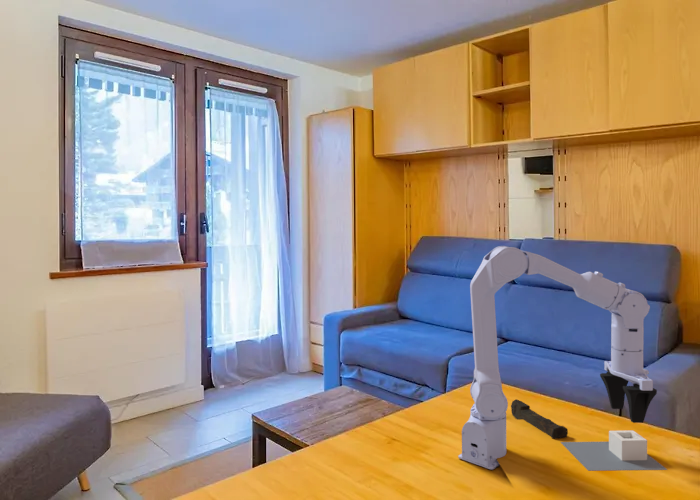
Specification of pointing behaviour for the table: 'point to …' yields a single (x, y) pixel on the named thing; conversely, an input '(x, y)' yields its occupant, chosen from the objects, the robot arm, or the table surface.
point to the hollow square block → (628, 445)
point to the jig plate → (606, 458)
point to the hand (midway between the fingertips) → (626, 415)
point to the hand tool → (537, 420)
